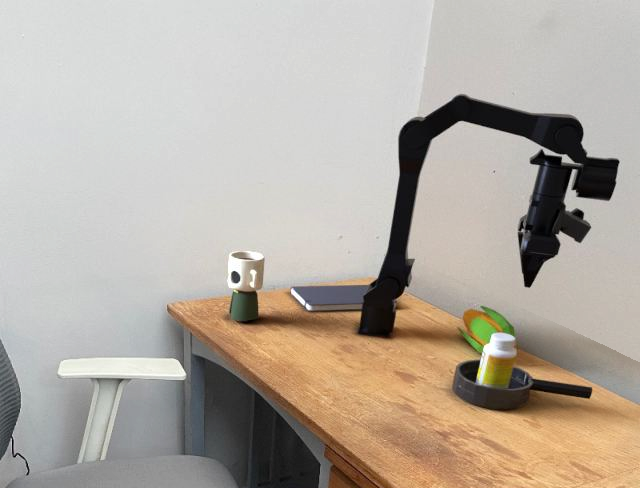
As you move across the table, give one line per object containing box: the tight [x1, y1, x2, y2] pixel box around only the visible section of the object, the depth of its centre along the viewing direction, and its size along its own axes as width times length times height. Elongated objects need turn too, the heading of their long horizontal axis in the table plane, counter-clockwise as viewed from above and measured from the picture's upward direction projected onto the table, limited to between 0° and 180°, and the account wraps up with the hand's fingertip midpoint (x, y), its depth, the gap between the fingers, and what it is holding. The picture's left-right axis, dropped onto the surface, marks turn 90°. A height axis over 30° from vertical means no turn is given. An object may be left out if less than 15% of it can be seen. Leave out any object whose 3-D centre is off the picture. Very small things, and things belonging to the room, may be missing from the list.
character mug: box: [227, 250, 266, 322], centre depth 158 cm, size 11×7×13 cm, turn 22°
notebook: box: [289, 284, 398, 312], centre depth 176 cm, size 13×2×21 cm
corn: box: [456, 305, 517, 355], centre depth 155 cm, size 7×8×20 cm
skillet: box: [451, 359, 534, 411], centre depth 136 cm, size 13×13×4 cm
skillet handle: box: [531, 377, 593, 400], centre depth 134 cm, size 10×2×2 cm, turn 77°
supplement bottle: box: [476, 333, 518, 389], centre depth 134 cm, size 6×6×10 cm
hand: (526, 280), depth 148 cm, fingers open, 9 cm apart
